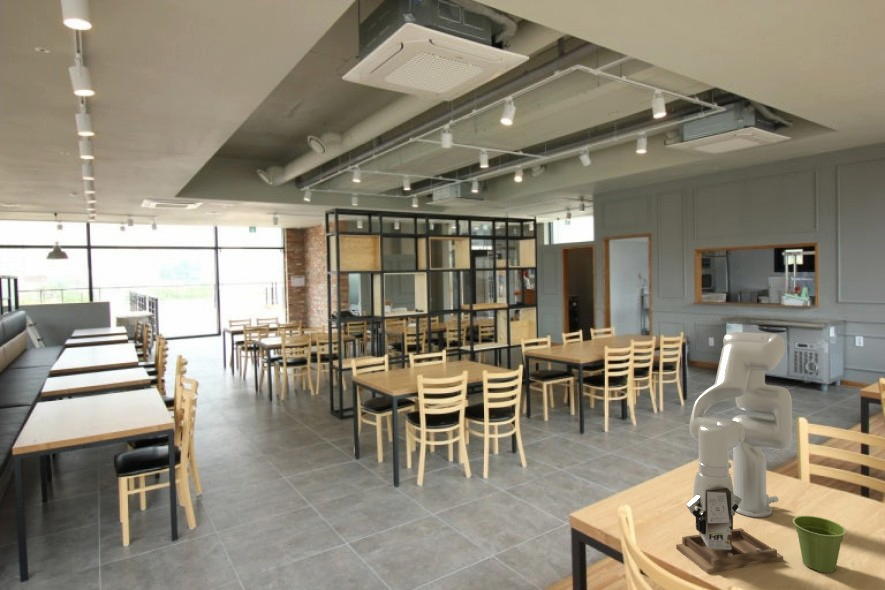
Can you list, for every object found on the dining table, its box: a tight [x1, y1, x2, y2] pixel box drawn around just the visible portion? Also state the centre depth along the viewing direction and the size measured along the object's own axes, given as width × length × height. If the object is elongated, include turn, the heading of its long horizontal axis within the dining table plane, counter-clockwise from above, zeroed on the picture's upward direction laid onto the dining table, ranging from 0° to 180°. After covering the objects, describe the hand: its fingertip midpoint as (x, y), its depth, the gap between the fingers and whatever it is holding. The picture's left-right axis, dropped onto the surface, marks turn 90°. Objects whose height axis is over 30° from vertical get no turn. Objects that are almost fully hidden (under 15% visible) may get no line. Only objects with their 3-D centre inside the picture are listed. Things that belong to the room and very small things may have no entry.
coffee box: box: [698, 488, 732, 550], centre depth 148 cm, size 9×6×16 cm
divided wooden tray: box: [675, 527, 784, 574], centre depth 149 cm, size 24×13×4 cm, turn 102°
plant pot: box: [792, 515, 847, 573], centre depth 142 cm, size 12×12×11 cm
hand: (714, 529), depth 148 cm, fingers closed on coffee box, 8 cm apart
